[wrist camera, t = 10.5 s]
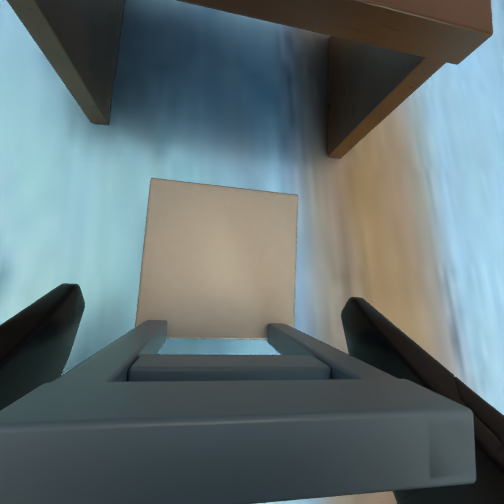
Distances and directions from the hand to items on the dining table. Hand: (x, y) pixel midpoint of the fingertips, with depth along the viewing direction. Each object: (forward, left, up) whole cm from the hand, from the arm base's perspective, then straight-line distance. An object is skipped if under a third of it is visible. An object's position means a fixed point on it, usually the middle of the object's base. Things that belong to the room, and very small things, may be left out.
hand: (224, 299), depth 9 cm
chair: (+1, +1, -7) cm, 7 cm away
